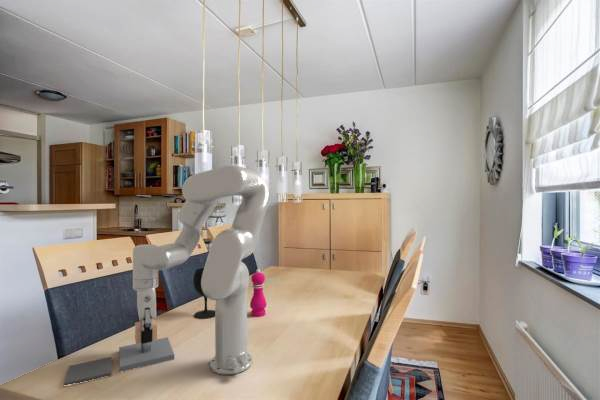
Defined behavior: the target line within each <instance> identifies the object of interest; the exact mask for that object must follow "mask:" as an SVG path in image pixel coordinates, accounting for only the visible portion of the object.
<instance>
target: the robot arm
mask: <svg viewBox="0 0 600 400" xmlns="http://www.w3.org/2000/svg"><path fill="white" fill-rule="evenodd" d="M181 192H182V194H181V195H182V196H183V198H184V199H185V201H184V202H183V204H182V206H181V208H180V209H179V211H178V212H177V215H176V216H177V220H178V221H179V222H180V224H182V228H181V231H180V233H179V235H178V236H177V238H176V239H175V240H174V242H172V243H167V244H162V245H156V244H148V243H146V244H138V245H136V246H134V247H133V249H132V290H134V291H136V304H137V306H136V307H137V315H138V319H139V322H140V321H141V322H142V330H141V343H142V344H144V343H148V342H152V319H154V320H156V319H157V293H156V288H158V287H159V280H160V279H159V271H164V270H168V269H171V268H172V267H173V268H174V267H176V266H179V265H182V264H185V262H186V261H187V260H188V259H189V258H190V257H191V255H192V254H193V252H194V250H195V249H196V247H197V246H198V245H199V242H200V241H201V240H200V239H201V236H202V229H203V227H204V224H205V223H206V221H207V220H208V219H209V216H210V215H212V212H213V211H214V209H215V208H216V207H217V204H218V203H219V202H220V200H221V199H222V198H225V197H231V196H240V197H241V202H240V203H239V205H238V207H237V209H236V211H235V215H234V219H233V221H232V224H231V226H230V228H226V229H224V230H222V231H220V232H219V233H218V234H217V235H216V236H215V237H214V239H213V241H212V243H211V245H210V248H209V251H208V254H207V259H206V261H205V264H204V267H203V268H204V270H203V274H202V278H201V288H202V291H203V293H204V294H205V296H206V297H207V299H209V300H211V301H215V304H214V305H215V306H214V307H215V309H214V310H215V317H214V318H215V319H214V320H215V321H214V323H215V324H214V325H215V327H214V330H215V331H214V333H215V334H214V336H215V338H214V340H215V341H214V342H215V343H214V344H215V346H214V349H215V351H214V352H215V355H214V357H213V358H212V359H211V360H210V363H209V368H210V370H211V371H212V372H213V373H216V374H220V375H227V376H228V375H229V376H230V375H236V374H239V373H241V372H244V371H246V370H248V369H249V368H250V367H251V366H252V364H253V356H252V355H251V354H250V353H248V295H249V294H248V292H249V284H250V272H249V269H248V267H247V265H246V263H244V262H243V261H242V260H244V259H245V258H247V257H249V256H250V255H252V254H253V252H255V250H256V245H257V242H258V239H259V234H260V232H261V228H262V226H263V222H264V218H265V215H266V212H267V209H268V205H269V200H270V195H269V188H268V185H267V183H266V181H265V179H264V178H263V177H262V176H261V175H260V174H258V173H257V172H256V171H254V170H253V169H249V168H246V167H242V166H239V165H234V164H233V165H224V166H220V167H217V168H214V169H209V170H206V171H201V172H198V173H194V174H192V175H190V176H188V178H186V179H185V181H184V182H183V183H182V187H181ZM144 322H145V324H144Z"/></svg>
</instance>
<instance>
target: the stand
mask: <svg viewBox="0 0 600 400" xmlns="http://www.w3.org/2000/svg"><path fill="white" fill-rule="evenodd" d="M118 356H119V357H118V359H119V361H118V363H119V364H118V365H119V372H120V371H123V372H126V371H125V370H127V371H130V370H129V369H131V370H134V369H133V368H136V369H139V368H138V367H140V368H144V367H147V365H148V366H151V365H156V364H159V363H164V362H168V361H173V360H175V353H174V350H173V348H172V345H171V342H170V340H169V337H163V338H162V337H161V338H157V340H156V341H152V342H151V351H149V352H147V353H141V344H137V345H136V343H134V344H133V343H132V344H129V345H122V346H119V347H118ZM143 366H144V367H143Z"/></svg>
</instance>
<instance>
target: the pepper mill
mask: <svg viewBox="0 0 600 400" xmlns="http://www.w3.org/2000/svg"><path fill="white" fill-rule="evenodd" d="M250 280H251V282H252V289H253V294H252V297H251V300H250V303H249V308H251V310H250V316H252V317H255V318H256V317H257V318H260V317H264V316H265V315H266V307H267V300H266V297H265V296H264V290H263V289H264V286H265V284H264V283H265V280H266V276H265V274H264V273H262V272H261V270H260V269H259V268H257V269H256V271H255V272H254V273H253V274H252V275H251V279H250Z"/></svg>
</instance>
